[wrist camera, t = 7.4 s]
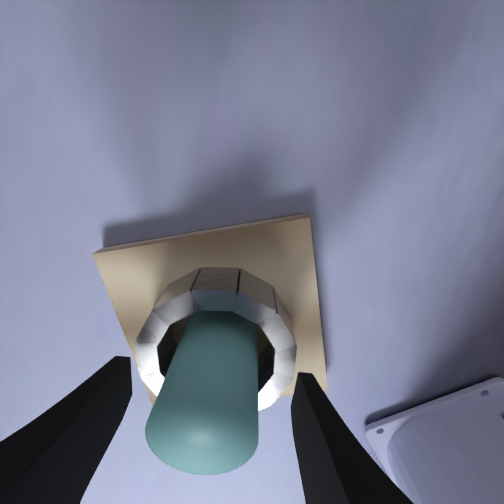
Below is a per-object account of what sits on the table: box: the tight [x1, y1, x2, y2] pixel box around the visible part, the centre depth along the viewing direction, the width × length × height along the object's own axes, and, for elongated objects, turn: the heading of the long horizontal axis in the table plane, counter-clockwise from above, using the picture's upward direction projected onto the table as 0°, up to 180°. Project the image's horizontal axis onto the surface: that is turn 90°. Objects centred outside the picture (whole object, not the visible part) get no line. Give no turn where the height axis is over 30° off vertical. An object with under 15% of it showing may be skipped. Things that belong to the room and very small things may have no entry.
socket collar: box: [134, 267, 297, 411], centre depth 14 cm, size 8×8×2 cm
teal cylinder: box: [145, 311, 258, 475], centre depth 12 cm, size 4×4×6 cm
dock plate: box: [93, 213, 328, 405], centre depth 16 cm, size 11×11×1 cm
